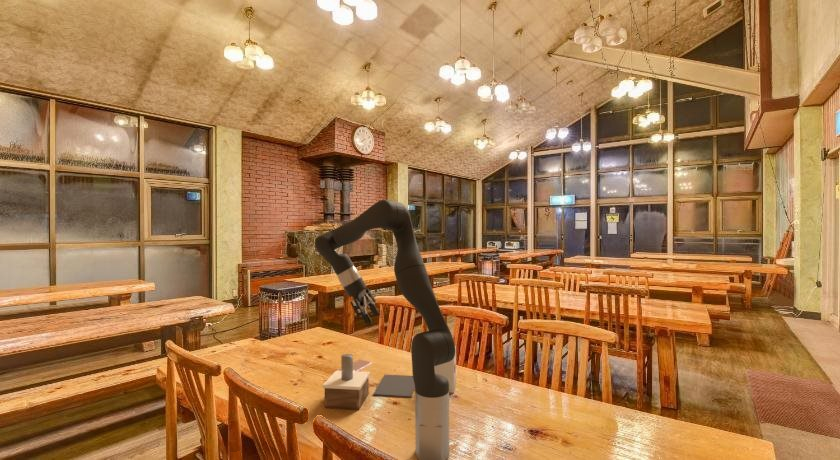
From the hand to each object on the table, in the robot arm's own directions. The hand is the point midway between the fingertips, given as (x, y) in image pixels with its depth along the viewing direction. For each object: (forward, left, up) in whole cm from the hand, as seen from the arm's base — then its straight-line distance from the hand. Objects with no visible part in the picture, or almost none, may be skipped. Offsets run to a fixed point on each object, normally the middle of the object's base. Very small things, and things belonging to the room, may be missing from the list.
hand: (373, 319), depth 139 cm
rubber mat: (+7, -7, -27) cm, 29 cm away
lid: (-7, +8, -22) cm, 24 cm away
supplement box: (+8, -25, -28) cm, 38 cm away
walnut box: (-7, +8, -27) cm, 29 cm away
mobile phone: (+24, +15, -28) cm, 40 cm away
